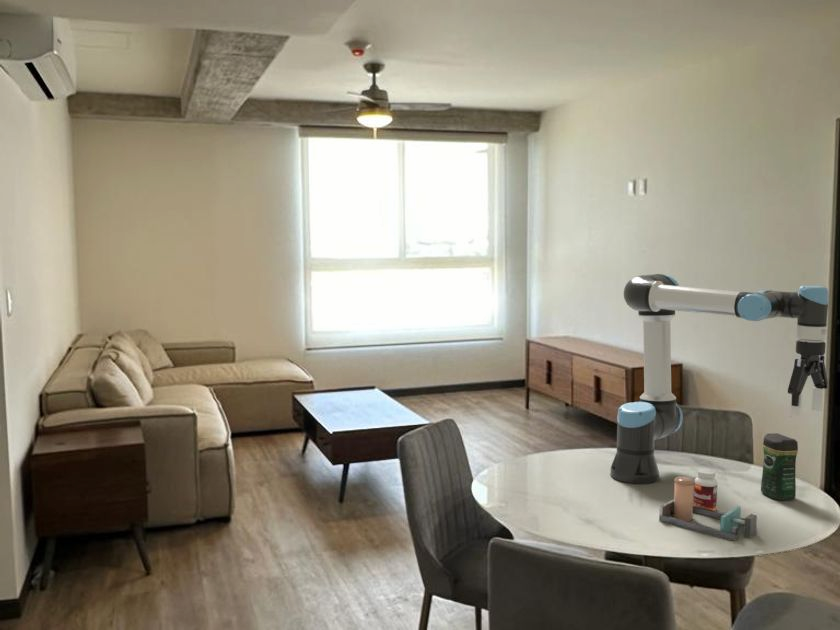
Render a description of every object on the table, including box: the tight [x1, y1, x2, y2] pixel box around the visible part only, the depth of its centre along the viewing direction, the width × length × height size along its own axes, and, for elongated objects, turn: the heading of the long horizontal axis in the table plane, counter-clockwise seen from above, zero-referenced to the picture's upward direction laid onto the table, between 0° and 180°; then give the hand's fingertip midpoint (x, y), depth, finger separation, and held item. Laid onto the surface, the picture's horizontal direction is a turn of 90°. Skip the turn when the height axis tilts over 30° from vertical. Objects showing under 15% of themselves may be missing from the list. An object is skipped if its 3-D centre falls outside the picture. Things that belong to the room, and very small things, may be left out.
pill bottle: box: [693, 468, 718, 511], centre depth 221 cm, size 6×6×11 cm
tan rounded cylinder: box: [673, 476, 695, 522], centre depth 214 cm, size 5×5×11 cm
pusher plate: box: [719, 506, 758, 539], centre depth 203 cm, size 6×11×5 cm, turn 136°
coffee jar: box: [760, 432, 799, 501], centre depth 232 cm, size 10×8×19 cm
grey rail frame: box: [658, 498, 746, 542], centre depth 210 cm, size 20×14×4 cm, turn 46°
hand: (806, 413), depth 224 cm, fingers open, 13 cm apart
